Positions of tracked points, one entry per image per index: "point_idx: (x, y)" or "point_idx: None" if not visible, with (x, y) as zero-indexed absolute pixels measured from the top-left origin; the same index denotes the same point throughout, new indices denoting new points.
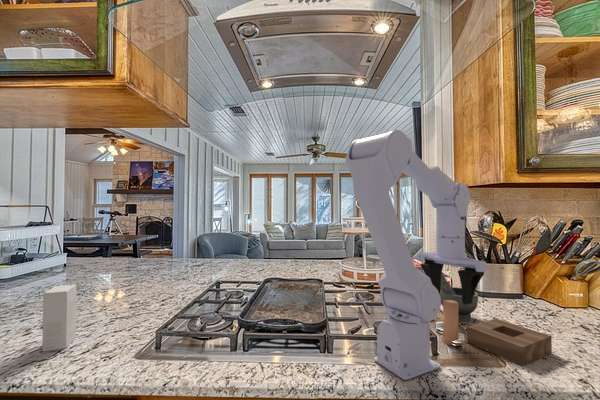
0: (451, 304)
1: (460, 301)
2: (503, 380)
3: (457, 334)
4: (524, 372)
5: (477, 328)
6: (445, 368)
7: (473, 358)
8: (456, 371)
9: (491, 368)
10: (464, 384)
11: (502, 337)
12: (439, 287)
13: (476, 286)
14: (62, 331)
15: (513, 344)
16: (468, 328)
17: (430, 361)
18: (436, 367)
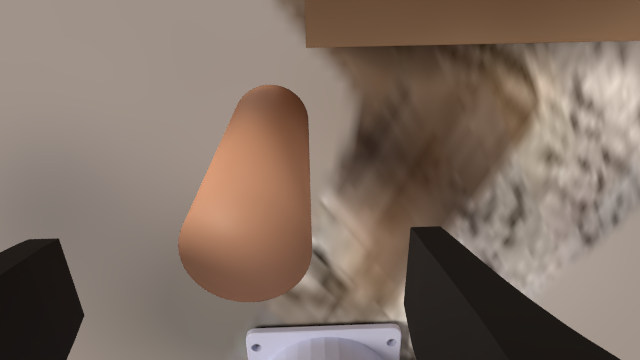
0: (292, 286)
1: None
2: (568, 212)
3: (308, 138)
4: (612, 81)
5: (362, 9)
6: None
7: (422, 162)
8: None
9: (507, 172)
10: None
11: (534, 4)
12: (13, 287)
13: (587, 346)
14: None
15: (608, 39)
16: (316, 46)
17: (366, 341)
18: (400, 347)
